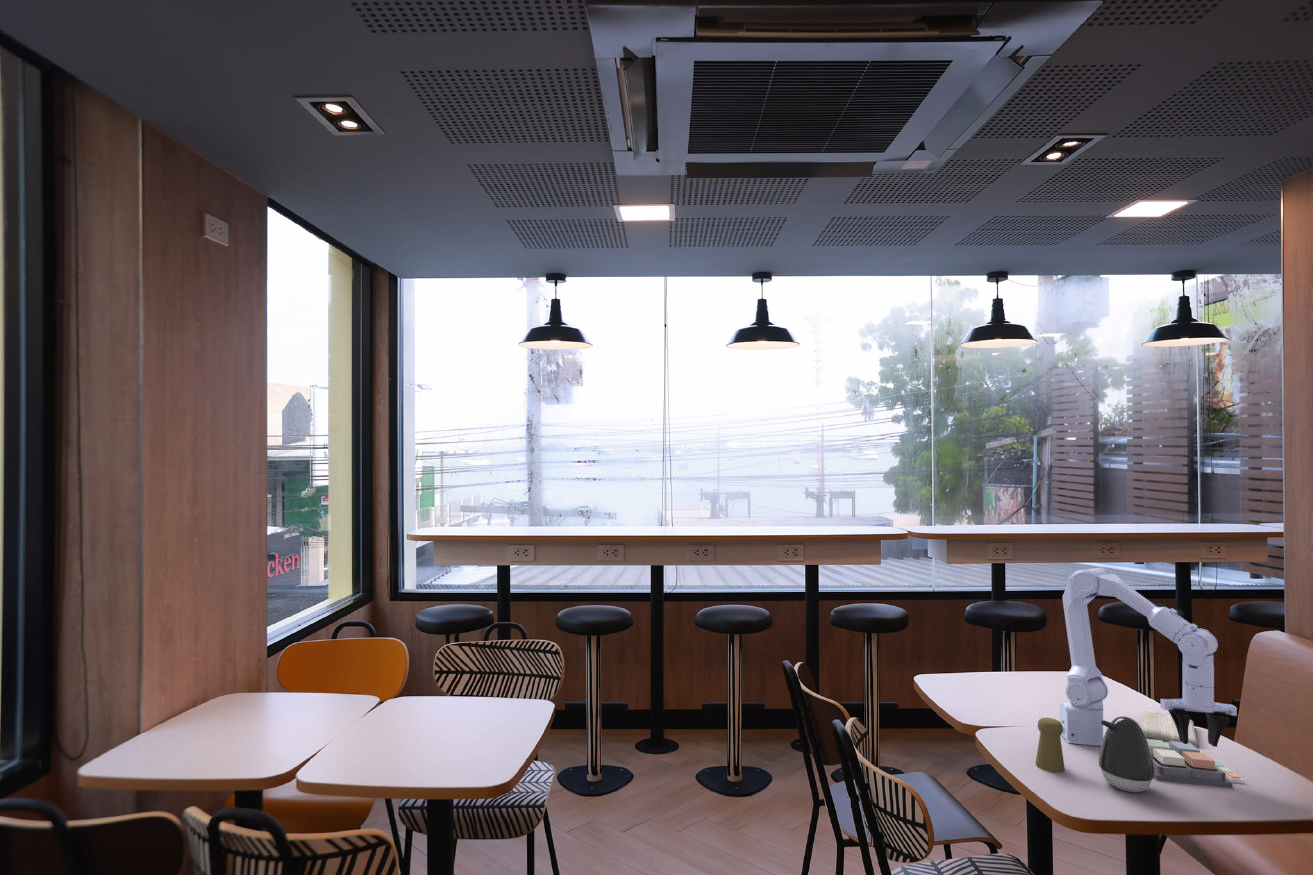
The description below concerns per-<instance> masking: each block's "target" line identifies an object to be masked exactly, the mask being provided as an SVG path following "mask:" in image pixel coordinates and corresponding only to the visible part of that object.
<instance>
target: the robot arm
mask: <svg viewBox="0 0 1313 875" xmlns="http://www.w3.org/2000/svg"><path fill="white" fill-rule="evenodd" d="M1067 580H1068V581H1067V582H1068V583H1067V585H1066V587H1065V590H1064V593H1063V594H1062V605H1063V606H1062V607H1063V611H1064V612H1063V613H1064V619H1065V627H1066V634H1067V641H1068V642H1067V643H1068V648H1069V654H1070V655H1069V656H1070V662H1071V668H1070V669H1069V671H1068V673H1067V677H1066V678H1067V684H1066V687H1065V694H1066V698H1067V699H1068V700H1069V701H1070V702H1062V703H1060V705H1059V710H1058V711H1059V712H1058V717H1059V718H1058V719H1059V720H1058V721H1059V722H1061V724H1062V726H1063V732H1062V734H1061V735H1060V736H1062V737H1063V738H1064V739H1065V741H1066V742H1068V744H1074V745H1075V744H1076V745H1086V746H1097V747H1098V746H1099V747H1101V744H1102V741H1103V738H1104V725H1102V724H1101V721H1102V720H1104V703H1103V702H1104V701H1105V699H1107V696H1108V695H1109V689H1108V686H1107V684H1106V683H1105V681H1104V679H1103V674H1102V672H1101V671H1100V669H1099V668H1098V667H1097V665H1096V659H1095V658H1096V657H1095V653H1094V652H1095V651H1094V645H1093V638H1092V630H1091V624H1090V615H1089V608H1088V604H1089V603H1091V601H1093V600H1094V599H1095V598H1096V596H1105V597H1115V598H1116V599H1118V600H1119V601H1121V602H1123V603H1124V604H1126V605H1127V606H1129V607H1131V608H1132V609H1134V610H1135V611H1137V612H1139V613H1140V614H1142V615H1143V616H1145V617H1146V618H1147V622H1148V624H1149V626H1150V627H1151V628H1152V629H1154V630H1156V631H1158V633H1160V634H1161V635H1163V636H1164V637H1166V638H1167V639H1168V640H1170V641H1171V642H1173V643H1174V644H1176V645H1177V648H1178V650H1179V651H1180V652H1181V653H1182V698H1169V699H1168V698H1167V699H1166V698H1160V708H1161V709H1163V710H1164V711H1168V713H1169V714H1170V715H1169V716H1170V717H1172V718H1173V721H1174V723H1175V725H1176V728H1177V731H1178V734H1179V739H1180V741H1181V742H1182V743H1184V744H1188V727H1189V722H1190V720H1191V716H1190V715H1189V714H1187V712H1196V713H1205V716H1206V722H1207V741H1208V744H1210V745H1211V746H1212V747H1215V748H1216V747H1218V743H1219V741H1220V738H1221V735H1222V734H1223V731H1224V730H1225V728H1226V727H1227V726H1228V724H1229V723H1230V720H1231V719H1230V717H1229V716H1228V715H1230V716H1232V717H1237V715H1238V713H1237V710H1238V707H1236V706H1235V705H1233V704H1230V703H1229V704H1228V703H1221V702H1215V688H1214V687H1215V666H1214V653H1215V652H1217V650H1218V647H1219V644H1218V643H1219V642H1218V640H1217V638H1216V637H1215V636H1214V635H1213V633H1211V632H1210V631H1209V630H1208V629H1204V628H1199V627H1198V625H1196V623H1190V622H1189V621H1188V620H1186V619H1184V617H1182V616H1180V615H1178V614H1177V613H1178V611H1177V610H1175V609H1174V608H1173V607H1172V608H1168V607H1166V606H1161V607H1160V606H1157V605H1155V604H1154V603H1153V602H1152V601H1150V600H1149V599H1147V598H1146V597H1144V596H1143V595H1142V594H1140V593H1139V592H1137V591H1136V590H1135V589H1134V588H1133V587H1131V586H1130V585H1128V584H1127V583H1125V581H1123V580H1122V579H1121V578H1120V577H1119V576H1118V575H1116V574H1114V573H1111V571H1109V570H1108V569H1107V568H1104V567H1100V566H1099V567H1094V568H1089V569H1079V570H1077V571H1074V572H1073V573H1072V574H1071V575H1070V576H1068V578H1067Z"/></svg>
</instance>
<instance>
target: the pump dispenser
mask: <svg viewBox="0 0 1313 875" xmlns="http://www.w3.org/2000/svg"><path fill="white" fill-rule="evenodd" d="M1101 724H1102V725H1103V727H1106V731H1105V733H1104V734H1103V741H1102V744H1101V746H1100V749H1099V753H1098V754H1099V757H1098V766H1099V768H1100V770H1101V773H1102V775H1103V778H1104V779H1105V780H1106V782H1108V783H1109V784H1110V785H1111V786H1113V787H1114V788H1116V789H1119V790H1121V791H1123V792H1129V793H1140V792H1144V791H1146V790H1147V789H1149V788H1150V786H1151V785H1152V781H1153V780H1154V779H1155V778H1154V765H1153V759H1152V755H1151V751H1150V748H1149V745H1148V742H1147V739H1148V738H1147V737H1145V735H1144V733H1143V731H1142V726H1140V724H1139V723H1138V722H1137V721H1136V720H1135V719H1133V718H1131V717H1128V716H1124V715H1123V716H1121V715H1120V716H1117V717H1116V718H1114V719H1113V720H1112V721H1111V722H1110V721H1108V720H1105V719H1103V720H1102V721H1101Z"/></svg>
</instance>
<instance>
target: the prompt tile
mask: <svg viewBox="0 0 1313 875" xmlns="http://www.w3.org/2000/svg"><path fill="white" fill-rule="evenodd" d="M1215 766H1216V767H1217V768H1219V769H1220V770H1221V771H1223V772H1224V773H1226V778H1227V779H1228V780H1229V781H1231V782H1232V783H1233V784H1234V783H1235V784H1236V783H1237V784H1244V779H1243V778H1242V777H1241V776H1240V775H1238V774H1237V773H1235V772H1234V771H1232V770H1231V768H1230V769H1229V768H1228V767H1227V766H1225V765H1224V764H1223V763H1222V762H1219V761H1217V762H1216V761H1215Z"/></svg>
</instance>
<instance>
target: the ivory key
mask: <svg viewBox="0 0 1313 875" xmlns="http://www.w3.org/2000/svg"><path fill="white" fill-rule="evenodd" d="M1153 756H1154V757H1155V758H1156V759H1157V760H1158V761H1160V762H1161V763H1162V764H1166V765H1176V766H1185V758H1184V757H1182V756H1181V755H1180V754H1178V753H1177V752H1176V751H1175V750H1164V749H1153Z"/></svg>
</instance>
